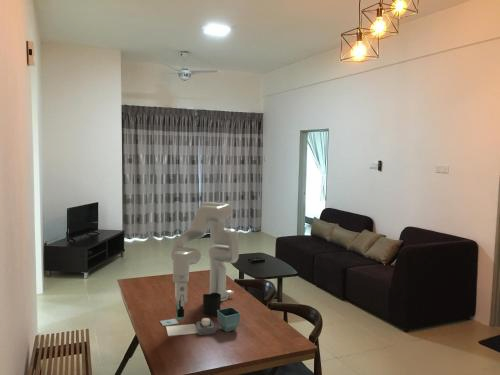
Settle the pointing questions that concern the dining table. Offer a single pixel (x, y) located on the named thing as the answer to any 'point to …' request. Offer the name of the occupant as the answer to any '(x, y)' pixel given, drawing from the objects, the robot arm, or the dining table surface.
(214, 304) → the pen holder
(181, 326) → the paper
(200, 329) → the button box
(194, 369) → the dining table surface
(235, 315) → the flower pot
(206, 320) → the cream ball
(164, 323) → the card
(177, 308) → the marker
